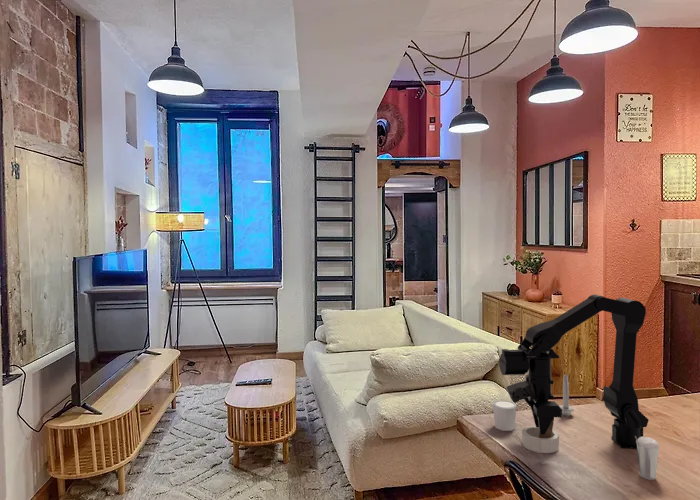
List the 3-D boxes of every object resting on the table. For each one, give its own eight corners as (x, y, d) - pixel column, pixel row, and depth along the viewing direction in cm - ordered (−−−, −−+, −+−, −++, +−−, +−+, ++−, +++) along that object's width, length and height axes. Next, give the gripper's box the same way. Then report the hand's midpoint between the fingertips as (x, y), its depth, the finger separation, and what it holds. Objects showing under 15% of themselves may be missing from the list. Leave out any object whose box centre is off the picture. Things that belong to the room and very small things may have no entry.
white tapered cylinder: (518, 432, 138) (518, 408, 138) (494, 431, 139) (493, 407, 139) (515, 423, 145) (515, 400, 144) (491, 421, 146) (491, 399, 146)
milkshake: (628, 472, 114) (628, 431, 114) (649, 471, 114) (649, 430, 114) (641, 482, 109) (641, 440, 109) (663, 481, 110) (663, 438, 110)
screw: (577, 415, 150) (569, 418, 147) (562, 410, 154) (554, 414, 151) (577, 374, 149) (568, 377, 147) (562, 371, 153) (554, 374, 150)
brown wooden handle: (536, 439, 131) (541, 408, 130) (548, 441, 130) (553, 410, 130) (539, 444, 128) (544, 413, 127) (551, 446, 127) (556, 415, 127)
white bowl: (552, 438, 133) (552, 426, 133) (563, 454, 124) (563, 440, 124) (518, 437, 134) (518, 425, 134) (527, 452, 125) (526, 439, 125)
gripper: (502, 364, 139) (502, 416, 139) (516, 384, 120) (517, 444, 121) (541, 364, 137) (542, 417, 138) (562, 385, 119) (563, 446, 119)
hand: (540, 430), depth 129 cm, fingers open, 4 cm apart
